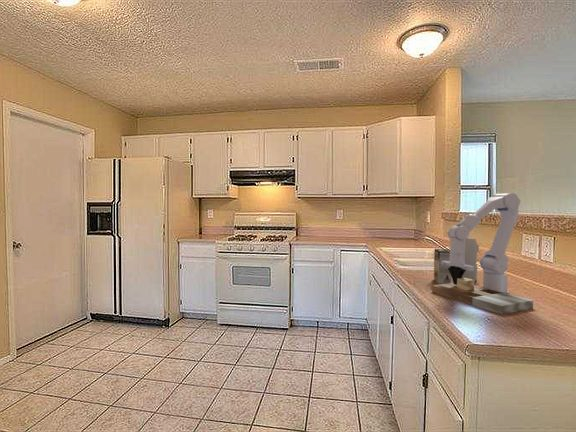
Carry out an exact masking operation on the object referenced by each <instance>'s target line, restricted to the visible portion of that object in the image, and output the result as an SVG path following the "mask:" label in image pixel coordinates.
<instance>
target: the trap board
mask: <svg viewBox="0 0 576 432" xmlns="http://www.w3.org/2000/svg"><path fill="white" fill-rule="evenodd" d="M431 292H432V293H434V294H437V295H440V296H442V297H446V298H449V299H453V300H456V301H459V302H462V303H464V304H469V305H471V306H474V307H477V308H480V309H482V310H487V311H489V312H492V313H496V314H499V315H506V314H512V313H517V312H522V311H526V310H532V309H534V300H533V299H530V298H525V297H523V296H518V295H513V294H510V293H507V294H506V293H503V292H499V291H495V290H491V289H487V288H483V286H480V285H479V286H478V285H475V284H474V289H473V290H463V289H460V288H457V285H455V284H453V282H451V283H447V284H433V285H432V288H431Z"/></svg>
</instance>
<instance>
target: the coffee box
mask: <svg viewBox="0 0 576 432" xmlns="http://www.w3.org/2000/svg"><path fill="white" fill-rule="evenodd" d="M433 254H434V256H433V257H434V258H433V259H434V260H433V281H435V282H436V283H437V285H439V284H447V283H452V276H451V274H450V272H449V270H448V268H450V266H446V265H441V262H442V261H450V249H448V248H434V253H433Z"/></svg>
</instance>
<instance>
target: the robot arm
mask: <svg viewBox="0 0 576 432" xmlns="http://www.w3.org/2000/svg"><path fill="white" fill-rule="evenodd" d="M520 204H521V200H520V198H519V196H518V195H517V194H516V193H514V192H509V193H493V194H492V195H491V196H490V197H488V198H487V200H486V202H485V203H484V204H483V205H481V206H480V207H479V208H478V209H477V210H476V211H475V212H474V213H473V214H472V213H469V214H466V215H465V216H464V218H463V219H462V220H460V221H459V222H457V223H456V225H452V226H451V227H449V229H448V231H447V234H446V235H447V236H448V237H449V243H450V244H449V250H450V261H442V262H441V265H446V266H450V268H448V270H449V272H450V274H451V276H452V278H451V281H452V283H453V284H455V285H457V278H462V276H463V274H464V272H465V271H466V270H469V271H474V266H470V265H467V264H464V263H465V239H466V238H467V237H470V233H471V232H472V230H474V229H475V228H476V227H478V226H479V225H480V223H481V220H482V219H483V218H484V217H486V216H487V215H488V214H490V213H491V212H492V211H494V210H496V211H497V212H498V213H499V214H500V215H501V219H500V222H499V223H498V227H497V229H496V233H495V236H494V238H493V241H492V243H491V247H490V249H489V250H487V251H485V252H484V254H483V256H482V257H480V260H479V265H480V267H481V268H482V271H483V273H482V275H483V277H482V278H483V279H482V280H483V281H482V287H483V288H487V289H491V290H495V291H499V292H503V293H506V294H510V291H508V282H509V278H508V275H506V273H505V272H506V271H508V267H509V264H508V262H509V257H508V256H507V254H506V251H507V248H508V245H509V243H510V241H511V240H510V239H511V238H512V235H513V232H514V229H515V227H516V223H517V220H518V217H519V207H520Z"/></svg>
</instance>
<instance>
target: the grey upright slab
mask: <svg viewBox="0 0 576 432" xmlns="http://www.w3.org/2000/svg"><path fill="white" fill-rule="evenodd" d="M479 251H480V245H479V244H478V241H477V239H476V238H473V237H470V236H468V237H467V238H466V239H465V263H464V264H467V265H470V266H474V271H469V270H466V271H465V272H464V274H463V276H462V278H468V279H472V280H474V282H475V281H478V265H477V263H478V262H477V258H478V257H477V256H478V253H479Z"/></svg>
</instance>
